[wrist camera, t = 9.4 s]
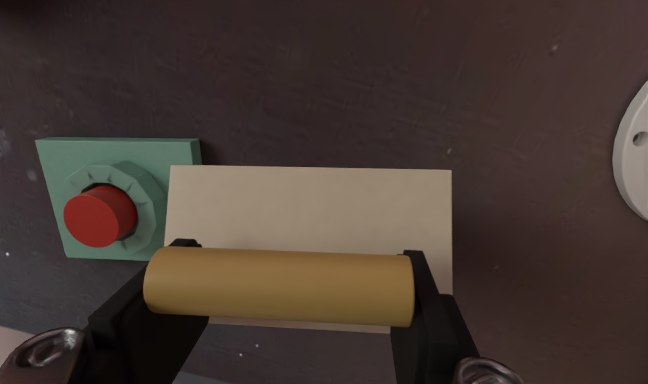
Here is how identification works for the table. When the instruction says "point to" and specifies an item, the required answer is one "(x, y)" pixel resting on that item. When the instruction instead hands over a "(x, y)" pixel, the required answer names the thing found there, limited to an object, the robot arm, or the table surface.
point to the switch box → (116, 185)
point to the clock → (301, 245)
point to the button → (100, 216)
